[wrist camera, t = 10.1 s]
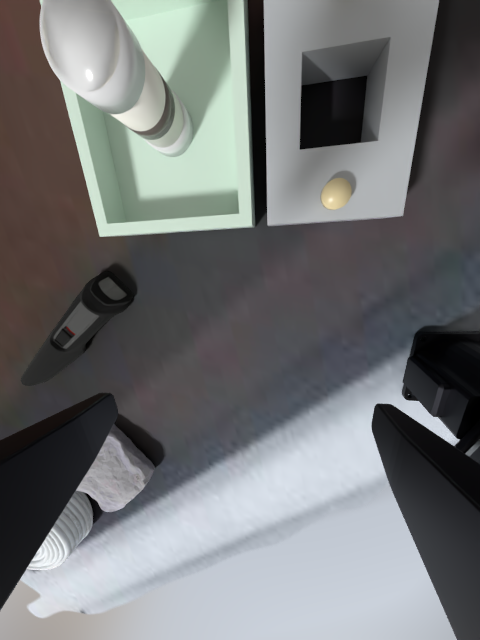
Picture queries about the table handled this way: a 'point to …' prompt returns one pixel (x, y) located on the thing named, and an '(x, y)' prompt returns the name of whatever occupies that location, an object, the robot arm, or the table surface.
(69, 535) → the cable
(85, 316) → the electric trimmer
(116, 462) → the stone block
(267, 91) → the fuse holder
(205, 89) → the tray
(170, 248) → the table surface
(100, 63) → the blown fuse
